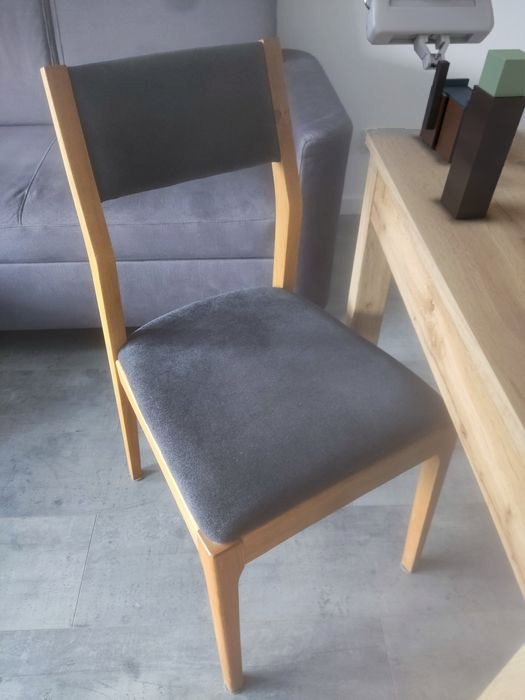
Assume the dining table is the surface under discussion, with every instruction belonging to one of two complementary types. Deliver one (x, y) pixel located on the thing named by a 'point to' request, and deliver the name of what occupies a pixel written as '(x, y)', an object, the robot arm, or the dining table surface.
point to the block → (504, 73)
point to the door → (435, 104)
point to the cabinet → (452, 116)
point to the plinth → (481, 153)
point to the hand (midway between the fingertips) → (434, 67)
